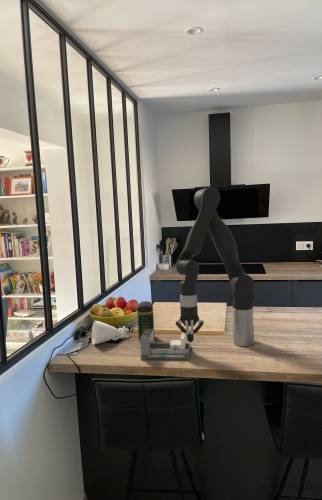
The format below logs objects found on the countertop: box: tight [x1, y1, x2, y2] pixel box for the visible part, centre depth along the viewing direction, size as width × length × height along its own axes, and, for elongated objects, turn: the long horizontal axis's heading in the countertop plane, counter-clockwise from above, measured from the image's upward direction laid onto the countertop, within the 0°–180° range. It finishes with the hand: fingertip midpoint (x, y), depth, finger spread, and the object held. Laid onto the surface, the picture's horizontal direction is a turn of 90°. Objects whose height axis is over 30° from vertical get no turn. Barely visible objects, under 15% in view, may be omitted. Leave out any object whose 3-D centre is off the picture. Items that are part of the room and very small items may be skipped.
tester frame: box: [139, 329, 192, 361], centre depth 168 cm, size 21×14×9 cm, turn 82°
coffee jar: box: [136, 301, 155, 341], centre depth 185 cm, size 10×8×19 cm
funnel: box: [91, 320, 130, 345], centre depth 188 cm, size 12×12×18 cm
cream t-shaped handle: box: [169, 331, 187, 351], centre depth 166 cm, size 7×11×7 cm, turn 172°
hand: (190, 341), depth 166 cm, fingers closed
